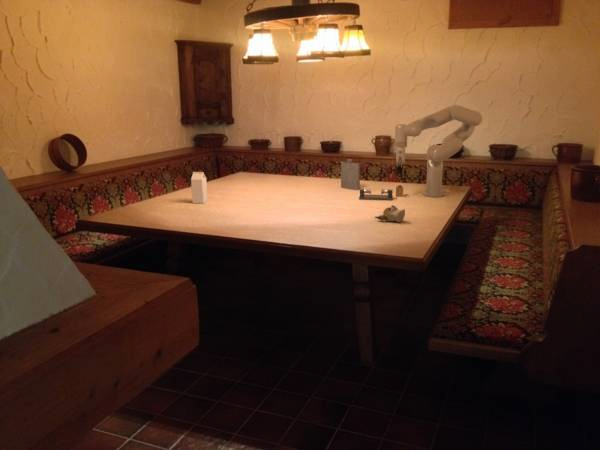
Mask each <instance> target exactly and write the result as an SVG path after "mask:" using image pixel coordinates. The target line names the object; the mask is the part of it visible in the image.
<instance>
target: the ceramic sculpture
mask: <svg viewBox="0 0 600 450" xmlns="http://www.w3.org/2000/svg"><path fill="white" fill-rule="evenodd" d="M382 213H383V214H380V215H378V216H374V218H375V219H378V220H380V221H388V222H394V221H395V222H396V223H400V224H401V223H402V222H403V220H404V218H405V215H406V209H405V208H403V209H399V208H397V206H396V205H391V207H390V206H388V207H386V208H385V209H383V212H382Z"/></svg>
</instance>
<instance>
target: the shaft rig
mask: <svg viewBox="0 0 600 450" xmlns="http://www.w3.org/2000/svg"><path fill="white" fill-rule="evenodd" d="M380 192H381V193H380V194H372V188H369V189H365V188H360V190H359V197H358V200H360V201H393V198H394V197H393V189H383V188H381V191H380Z"/></svg>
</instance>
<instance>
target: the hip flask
mask: <svg viewBox="0 0 600 450" xmlns="http://www.w3.org/2000/svg"><path fill="white" fill-rule="evenodd" d="M360 168H361V167H360V163H358V162H357V163H356V162H353V158H352V159H351V158H347V159H346V161H340V188H342V189H347V190H352V191H360V189H361V188H360V187H361V186H360V179H361V178H360V177H361V173H360V170H361V169H360Z"/></svg>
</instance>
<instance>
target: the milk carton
mask: <svg viewBox="0 0 600 450" xmlns="http://www.w3.org/2000/svg"><path fill="white" fill-rule="evenodd" d="M191 175H192V176H191V178H190V182H191V184H190V185H191V186H190V187H191V193H192V194H191V198H192V204H201V205H202V204H205V203H208V201H209V199H208V197H209V196H208V187H207V186H208V185H207V176H206V175H205V173H204V171H192V174H191Z"/></svg>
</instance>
